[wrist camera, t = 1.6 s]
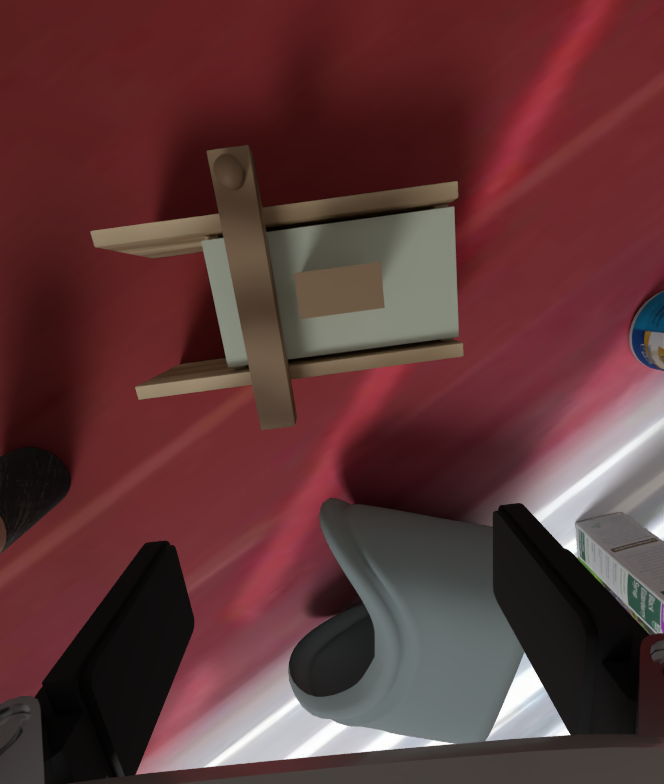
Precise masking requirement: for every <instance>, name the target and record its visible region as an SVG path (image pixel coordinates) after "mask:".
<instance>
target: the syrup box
mask: <svg viewBox="0 0 664 784" xmlns="http://www.w3.org/2000/svg"><path fill="white" fill-rule="evenodd" d="M575 527H576V540H577V553H578V560H579V561H580V562H581V563H582V564H583V565H584V566H585V567H586V568H587V569H588V570H589V571H590V572H591V573H592V574H593V575H594V577H595V578H596V579H597V580H598V581H599V582H600V583H601V584H602V585H603V586H604V587H605V588H606V589H607V590H608V591H609V592H610V593H611V594H612V595H613V597H614V598H615V599H616V600H617V601H618V602H619V603H620V604H621V605H622V606H623V607H624V608H625V609H626V610H627V611H628V612H629V613H630V614H631V615H632V617H633V618H634V619H635V620H636V621H637V622H638V623H639V624H640V625H641V626H642V627H643V628H644V629H645V630H646V631H647V632H648V633H649V634H650V635H652V634H657V633H664V541H662V540H661V539H659V538H658V537H657V536H655V535H654V534H652V533H651V532H650V531H648V530H647V529H645V528H644V527H643V526H641V525H640V524H638V523H637V522H636V521H634V520H633V519H631V518H630V517H629V516H627V515H626V514H624V513H622V512H620V513H614V514H609V515H604V516H600V517H596V518H592V519H588V520H584V521H580V522H576V523H575Z"/></svg>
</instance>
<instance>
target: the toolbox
mask: <svg viewBox="0 0 664 784" xmlns="http://www.w3.org/2000/svg"><path fill="white" fill-rule="evenodd" d="M457 198H458V181H455V182H447V183H440V184H433V185H425V186H418V187H411V188H403V189H396V190H389V191H381V192H374V193H367V194H359V195H352V196H345V197H337V198H330V199H323V200H315V201H308V202H301V203H293V204H286V205H279V206H271V207H264V208H262V209H263V215H264V221H265V227H266V232H271V231H278V230H285V229H293V228H300V227H307V226H315V225H322V224H329V223H337V222H344V221H352V220H359V219H366V218H374V217H381V216H388V215H396V214H403V213H410V212H418V211H425V210H432V209H440V208H447V207H448V204H449V203H451V202H452V201H454V200H455V199H457ZM90 232H91V235H92V239H93V242H94V246H95V247H98V248H103V249H108V250H113V251H118V252H123V253H128V254H133V255H139V256H144V257H149V258H160V257H167V256H175V255H182V254H189V253H197V252H203V247H202V242H201V241H204V240H212V239H219V238H223V232H222V227H221V222H220V217H219V214H213V215H205V216H198V217H191V218H183V219H176V220H169V221H161V222H154V223H147V224H139V225H132V226H125V227H117V228H110V229H103V230H95V231H90ZM461 356H463V343H461V342H458V341H455V340H453V337H452V338H445V339H437V340H430V341H423V342H415V343H408V344H400V345H393V346H385V347H378V348H370V349H363V350H355V351H348V352H341V353H333V354H326V355H318V356H311V357H303V358H296V359H288V366H289V372H290V378H291V379H297V378H304V377H312V376H319V375H327V374H334V373H342V372H349V371H357V370H364V369H372V368H379V367H386V366H394V365H401V364H409V363H416V362H424V361H431V360H439V359H446V358H454V357H461ZM245 385H252V380H251V375H250V370H249V365H244V366H236V367H229V368H228V365H227V360H226V358H221V359H214V360H206V361H199V362H192V363H184V364H179V365H177V366H175V367H173V368H171V369H169V370H167V371H165V372H163V373H161V374H160V375H158V376H156V377H154V378H152V379H150V380H148V381H146V382H144V383H142V384H140V385H138V386H136V387H135V388H136V392H137V395H138V399H139V400H140V399H147V398H155V397H162V396H170V395H177V394H185V393H192V392H200V391H207V390H215V389H222V388H230V387H237V386H245Z"/></svg>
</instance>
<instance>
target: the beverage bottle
mask: <svg viewBox="0 0 664 784" xmlns="http://www.w3.org/2000/svg"><path fill="white" fill-rule="evenodd" d="M629 344H630V348H631V351H632V353H633V355H634V356H635V357H636V359H637V360H638V361H639V362H641V363H642V364H644V365H645V366H647V367H650V368H653V369H657V370H662V371H664V291H662V292H660V293H658V294H656V295H654V296H653V297H651V298H650V299H649V300H648V301H646V302H645V303H644V304H643V305H642V307H641V308H640V309H639V310H638V312H637V313H636V315H635V317H634V319H633V321H632V324H631V327H630V331H629Z"/></svg>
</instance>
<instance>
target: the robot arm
mask: <svg viewBox="0 0 664 784" xmlns="http://www.w3.org/2000/svg"><path fill="white" fill-rule="evenodd" d="M493 591H494V595H495V598H496V601H497V603H498V605H499V606H500V608H501V610H502V612H503V614H504V616H505V617H506V619H507V621H508V623H509V625H510V626H511V628H512V630H513V632H514V634H515V635H516V637H517V639H518V641H519V643H520V644H521V646H522V648H523V650H524V652H525V653H526V655H527V657H528V659H529V661H530V663H531V664H532V666H533V668H534V670H535V672H536V673H537V675H538V677H539V679H540V681H541V682H542V684H543V686H544V688H545V690H546V691H547V693H548V695H549V697H550V699H551V701H552V702H553V704H554V706H555V708H556V710H557V711H558V713H559V715H560V717H561V719H562V720H563V722H564V724H565V726H566V728H567V729H568V731H569V733H570V734H571V735H568V736H553V737H538V738H522V739H508V740H497V741H485V742H474V743H462V744H451V745H439V746H428V747H416V748H405V749H394V750H383V751H372V752H361V753H351V754H340V755H329V756H319V757H308V758H298V759H287V760H277V761H266V762H256V763H246V764H236V765H226V766H216V767H206V768H196V769H187V770H177V771H167V772H157V773H147V774H139V775H135V774H136V772H137V770H138V767H139V765H140V762H141V760H142V757H143V755H144V752H145V750H146V747H147V745H148V742H149V740H150V737H151V735H152V732H153V730H154V727H155V725H156V722H157V720H158V717H159V715H160V713H161V710H162V708H163V705H164V703H165V700H166V698H167V695H168V693H169V690H170V688H171V685H172V683H173V680H174V678H175V675H176V673H177V670H178V668H179V665H180V663H181V660H182V658H183V655H184V653H185V650H186V648H187V645H188V643H189V640H190V638H191V635H192V633H193V629H194V616H193V612H192V608H191V604H190V601H189V597H188V593H187V589H186V585H185V581H184V578H183V574H182V570H181V566H180V562H179V559H178V555H177V551H176V548H175V546H174V545H170V543H169V542H168V541H158V542H148V543H145V544H144V545H143V547H142V548H141V549H140V551H139V552H138V553H137V555H136V556H135V557H134V559H133V560H132V561H131V563H130V564H129V566H128V567H127V568H126V570H125V571H124V572H123V574H122V575H121V576H120V578H119V579H118V580H117V582H116V583H115V584H114V586H113V587H112V589H111V590H110V591H109V593H108V594H107V595H106V597H105V598H104V599H103V601H102V602H101V603H100V605H99V606H98V607H97V609H96V610H95V612H94V613H93V614H92V616H91V617H90V618H89V620H88V621H87V622H86V624H85V625H84V626H83V628H82V629H81V630H80V632H79V633H78V634H77V636H76V637H75V639H74V640H73V641H72V643H71V644H70V645H69V647H68V648H67V649H66V651H65V652H64V653H63V655H62V656H61V657H60V659H59V660H58V662H57V663H56V664H55V666H54V667H53V668H52V670H51V671H50V672H49V674H48V675H47V676H46V678H45V679H44V680H43V682H42V685H43V686H42V688H41V689H40V690H39V692H38V693H37V695H36V696H35V697H32V696H20V697H17V698H13V699H10V700H8V701H6V702H4V703H2V704H0V784H664V633H657V634H652V635H650V634H649V633H648V632H647V631H646V630H645V629H644V628H643V627H642V626H641V625H640V624H639V623H638V622H637V621H636V620H635V619H634V618H633V617H632V615H631V614H630V613H629V612H628V611H627V610H626V609H625V608H624V607H623V606H622V605H621V604H620V603H619V602H618V601H617V600H616V599H615V598H614V597H613V595H612V594H611V593H610V592H609V591H608V590H607V589H606V588H605V587H604V586H603V585H602V584H601V583H600V582H599V581H598V580H597V579H596V578H595V577H594V575H593V574H592V573H591V572H590V571H589V570H588V569H587V568H586V567H585V566H584V565H583V564H582V563H581V562H580V561H579V560H578V559H577V558H576V557H575V555H574V554H572V553H571V552H570V551H569V550H567V549H564V548H563V547H562V546H561V545H560V544H559V543H558V541H557V540H556V539H555V538H554V537H553V536H552V535H551V534H550V533H549V532H548V531H547V530H546V529H545V528H544V527H543V525H542V524H541V523H540V522H539V521H538V520H537V519H536V518H535V517H534V516H533V515H532V514H531V513H530V512H529V510H528V509H527V508H526V507H525V506H524V505H523V504H521V503H516V504H507V505H500V506H499V508H498V511H494V513H493Z"/></svg>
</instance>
